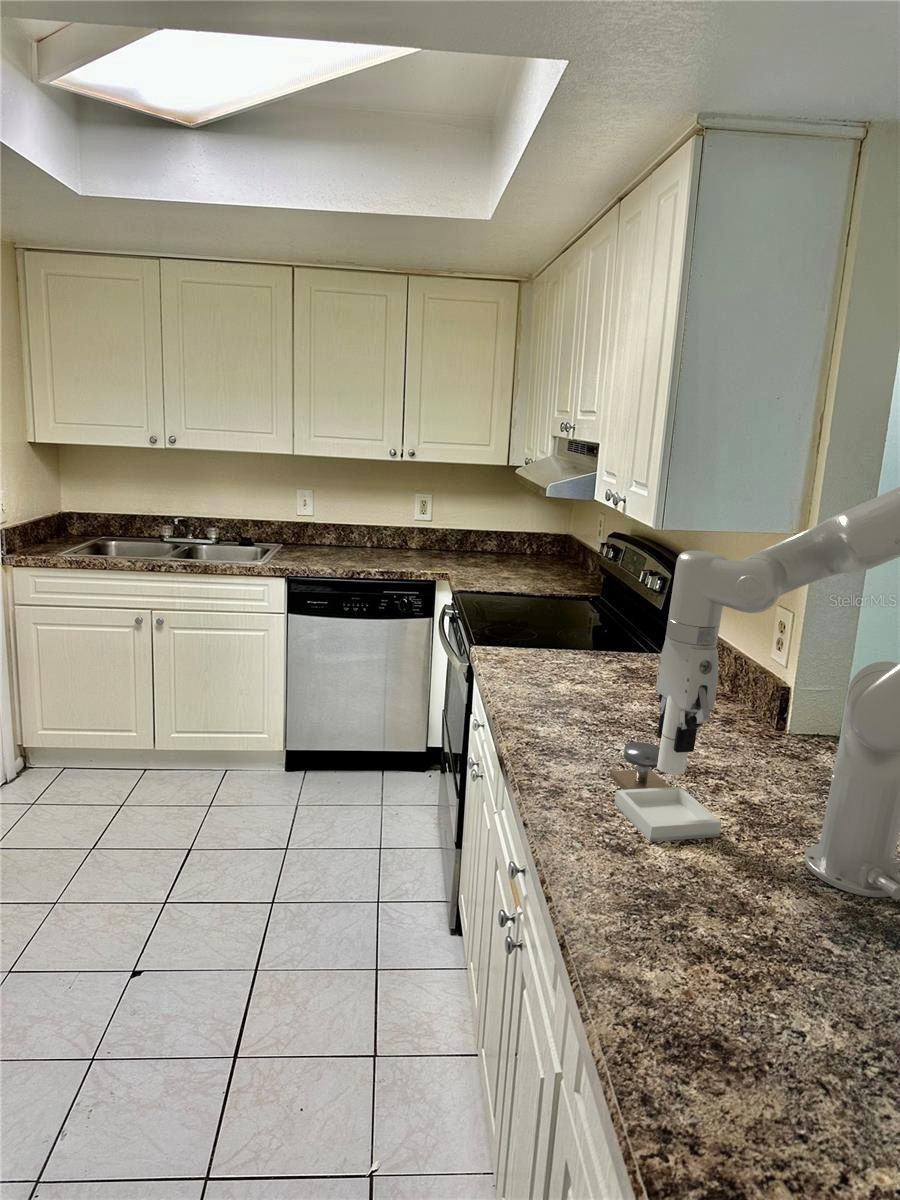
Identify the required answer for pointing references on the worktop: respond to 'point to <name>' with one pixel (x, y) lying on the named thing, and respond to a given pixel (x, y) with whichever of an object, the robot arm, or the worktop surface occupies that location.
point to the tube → (671, 742)
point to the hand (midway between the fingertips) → (674, 743)
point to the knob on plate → (639, 768)
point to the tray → (667, 814)
